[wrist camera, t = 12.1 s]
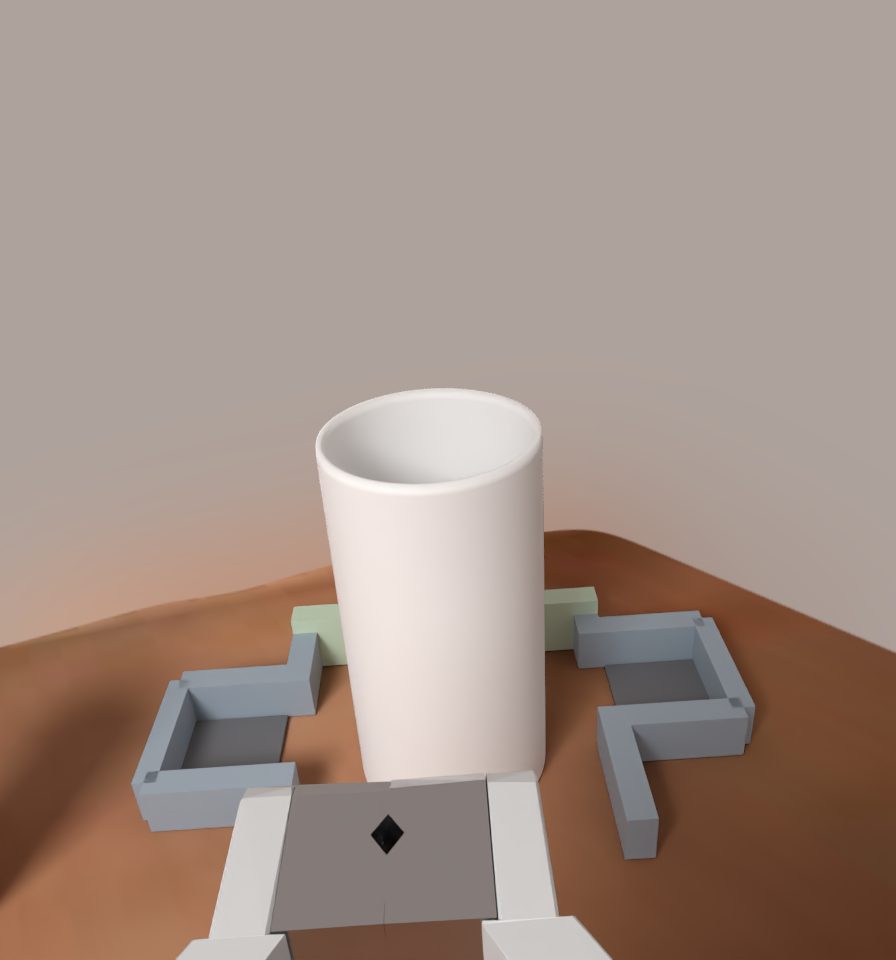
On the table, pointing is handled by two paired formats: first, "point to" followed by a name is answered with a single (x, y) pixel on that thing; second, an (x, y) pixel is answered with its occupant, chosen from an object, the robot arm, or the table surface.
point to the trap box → (568, 625)
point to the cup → (440, 579)
